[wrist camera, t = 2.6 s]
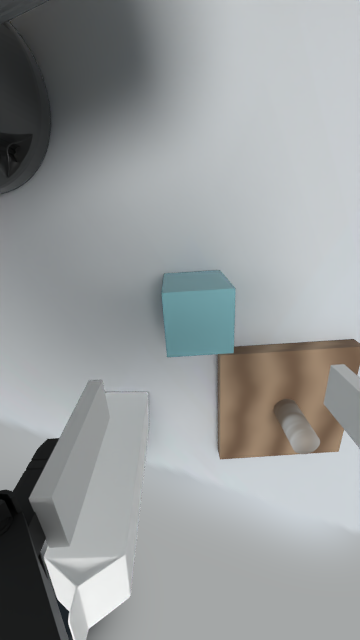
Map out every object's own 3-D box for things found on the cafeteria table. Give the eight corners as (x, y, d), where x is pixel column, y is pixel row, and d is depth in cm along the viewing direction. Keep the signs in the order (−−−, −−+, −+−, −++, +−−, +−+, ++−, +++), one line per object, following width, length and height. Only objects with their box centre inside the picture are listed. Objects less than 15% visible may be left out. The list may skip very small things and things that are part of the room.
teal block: (168, 324, 32) (167, 357, 25) (164, 273, 30) (161, 292, 23) (219, 321, 32) (233, 353, 25) (219, 270, 30) (235, 288, 23)
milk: (109, 424, 38) (35, 663, 18) (105, 390, 36) (15, 622, 16) (150, 423, 38) (123, 660, 18) (149, 390, 36) (116, 619, 16)
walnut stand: (217, 448, 41) (227, 500, 33) (217, 347, 34) (230, 385, 26) (331, 440, 41) (366, 490, 33) (353, 339, 34) (404, 373, 27)
